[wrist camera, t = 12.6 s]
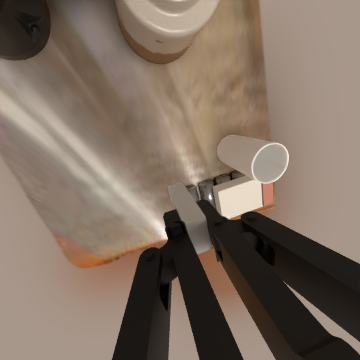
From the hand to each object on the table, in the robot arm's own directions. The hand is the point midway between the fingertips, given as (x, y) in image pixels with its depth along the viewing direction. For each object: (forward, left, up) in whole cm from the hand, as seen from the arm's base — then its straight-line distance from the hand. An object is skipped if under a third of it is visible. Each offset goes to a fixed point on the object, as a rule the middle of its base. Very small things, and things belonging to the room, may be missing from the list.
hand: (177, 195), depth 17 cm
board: (+18, -18, -24) cm, 35 cm away
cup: (+20, -6, -29) cm, 36 cm away
